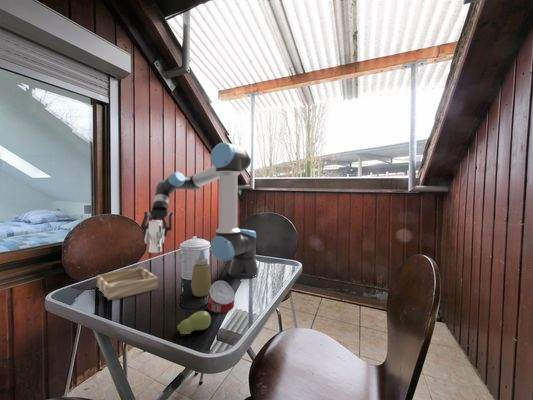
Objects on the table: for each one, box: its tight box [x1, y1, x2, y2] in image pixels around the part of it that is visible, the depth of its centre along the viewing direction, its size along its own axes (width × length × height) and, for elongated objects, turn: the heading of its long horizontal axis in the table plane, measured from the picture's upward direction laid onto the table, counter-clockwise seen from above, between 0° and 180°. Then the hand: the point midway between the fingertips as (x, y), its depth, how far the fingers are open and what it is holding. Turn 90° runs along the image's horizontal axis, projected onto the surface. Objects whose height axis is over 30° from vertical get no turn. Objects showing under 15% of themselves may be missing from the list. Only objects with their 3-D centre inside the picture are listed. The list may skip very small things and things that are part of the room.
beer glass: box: [147, 219, 165, 254], centre depth 121 cm, size 7×7×15 cm
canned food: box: [206, 280, 236, 313], centre depth 92 cm, size 11×10×10 cm
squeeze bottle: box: [190, 249, 212, 298], centre depth 101 cm, size 8×8×18 cm
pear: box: [177, 310, 212, 335], centre depth 75 cm, size 6×5×10 cm
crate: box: [96, 266, 159, 302], centre depth 105 cm, size 18×18×5 cm
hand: (154, 241), depth 118 cm, fingers closed on beer glass, 7 cm apart
